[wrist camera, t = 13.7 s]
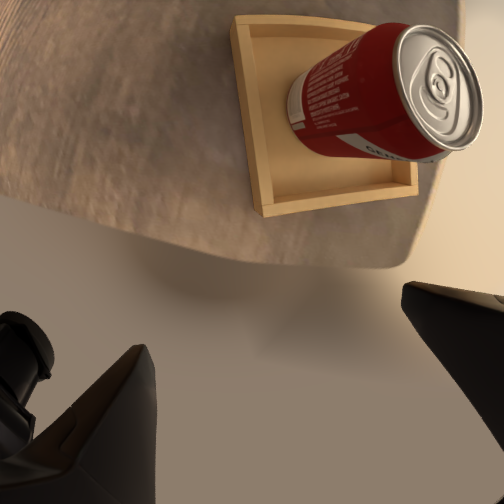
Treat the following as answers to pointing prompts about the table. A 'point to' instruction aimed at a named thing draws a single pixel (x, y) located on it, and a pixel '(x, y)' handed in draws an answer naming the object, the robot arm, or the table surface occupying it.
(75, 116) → the table surface
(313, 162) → the tray
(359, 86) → the soda can
